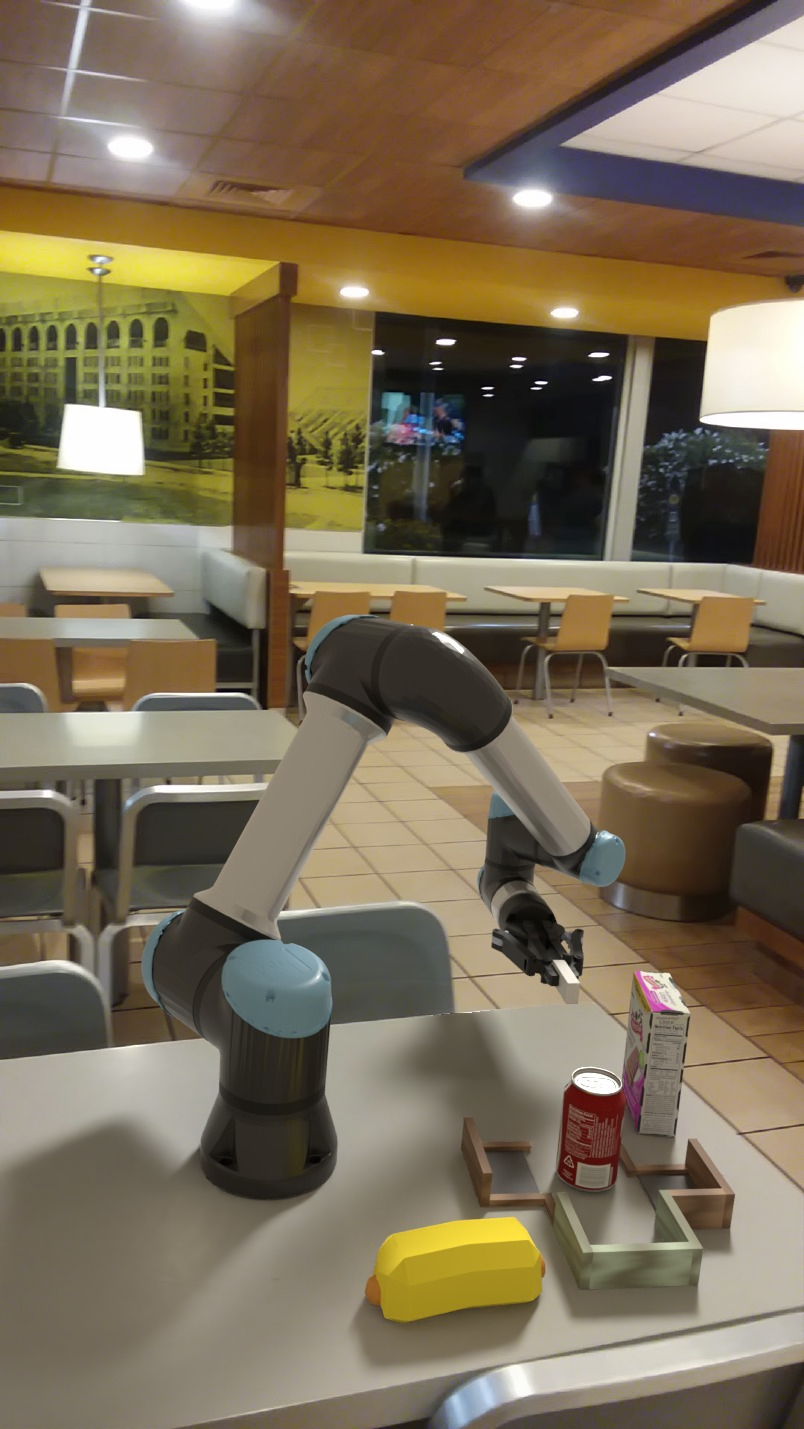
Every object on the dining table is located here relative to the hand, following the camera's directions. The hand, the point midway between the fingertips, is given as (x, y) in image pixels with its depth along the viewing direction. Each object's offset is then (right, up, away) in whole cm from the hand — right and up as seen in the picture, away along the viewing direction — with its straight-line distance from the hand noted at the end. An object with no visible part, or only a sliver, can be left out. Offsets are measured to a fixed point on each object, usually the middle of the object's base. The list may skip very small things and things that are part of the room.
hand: (572, 993), depth 129 cm
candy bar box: (+10, -16, +5) cm, 20 cm away
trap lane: (+1, -19, -14) cm, 24 cm away
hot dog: (-15, -21, -28) cm, 38 cm away
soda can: (0, -18, -9) cm, 20 cm away
